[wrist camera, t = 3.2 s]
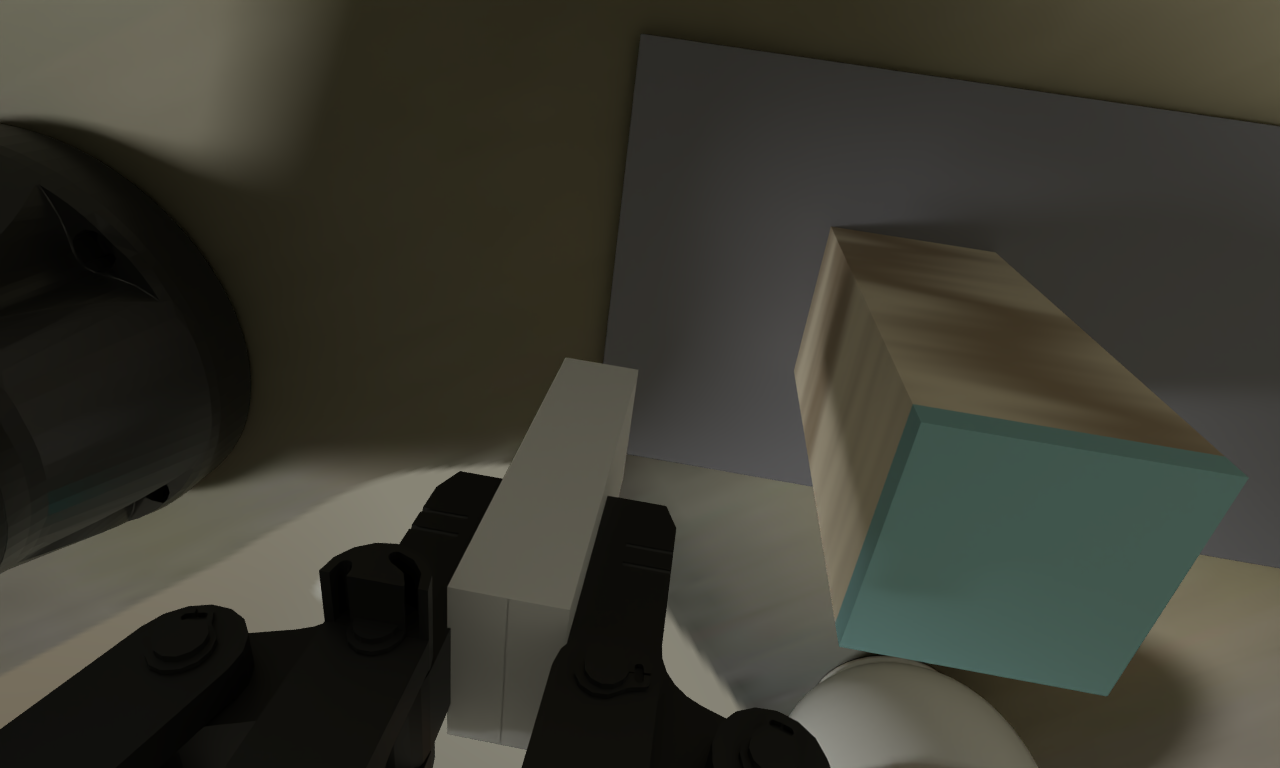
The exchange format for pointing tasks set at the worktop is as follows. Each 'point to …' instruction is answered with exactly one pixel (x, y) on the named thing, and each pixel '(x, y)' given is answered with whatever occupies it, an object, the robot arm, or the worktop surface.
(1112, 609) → the birch block
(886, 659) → the lidded jar
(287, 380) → the worktop surface
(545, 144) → the worktop surface
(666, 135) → the rubber mat
